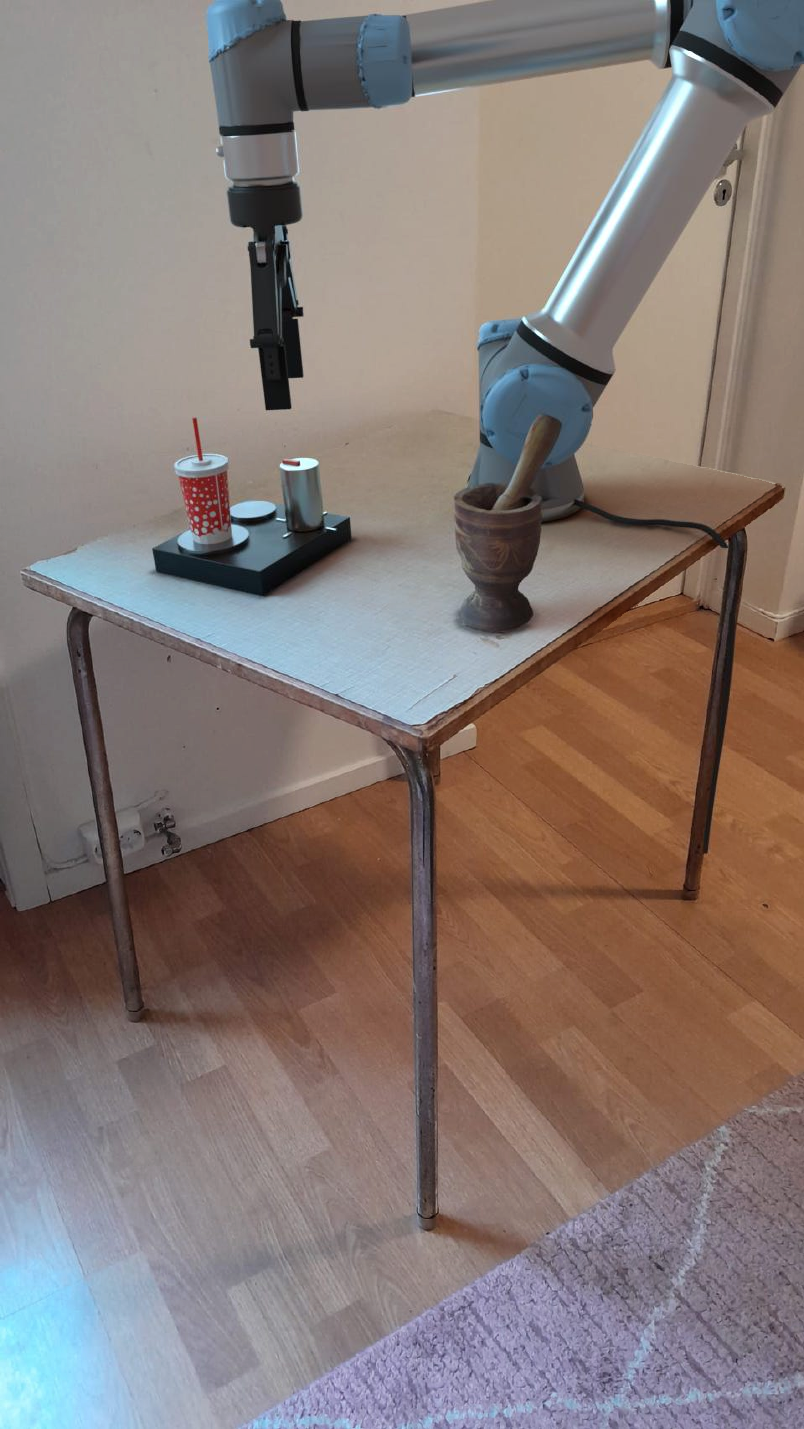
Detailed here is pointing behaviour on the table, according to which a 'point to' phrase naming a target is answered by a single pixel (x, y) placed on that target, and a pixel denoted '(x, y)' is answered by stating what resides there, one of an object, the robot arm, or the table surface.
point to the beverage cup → (205, 494)
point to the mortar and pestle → (503, 536)
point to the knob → (302, 494)
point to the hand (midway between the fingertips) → (285, 393)
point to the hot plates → (240, 535)
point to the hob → (257, 554)
